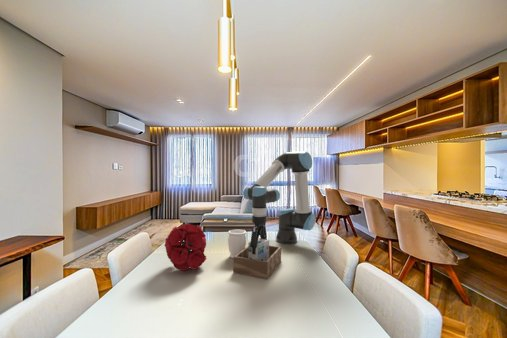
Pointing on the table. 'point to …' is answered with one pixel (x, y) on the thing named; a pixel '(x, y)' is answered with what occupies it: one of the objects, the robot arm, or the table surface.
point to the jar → (236, 241)
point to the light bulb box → (260, 250)
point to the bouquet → (186, 247)
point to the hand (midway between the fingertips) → (258, 256)
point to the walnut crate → (257, 263)
